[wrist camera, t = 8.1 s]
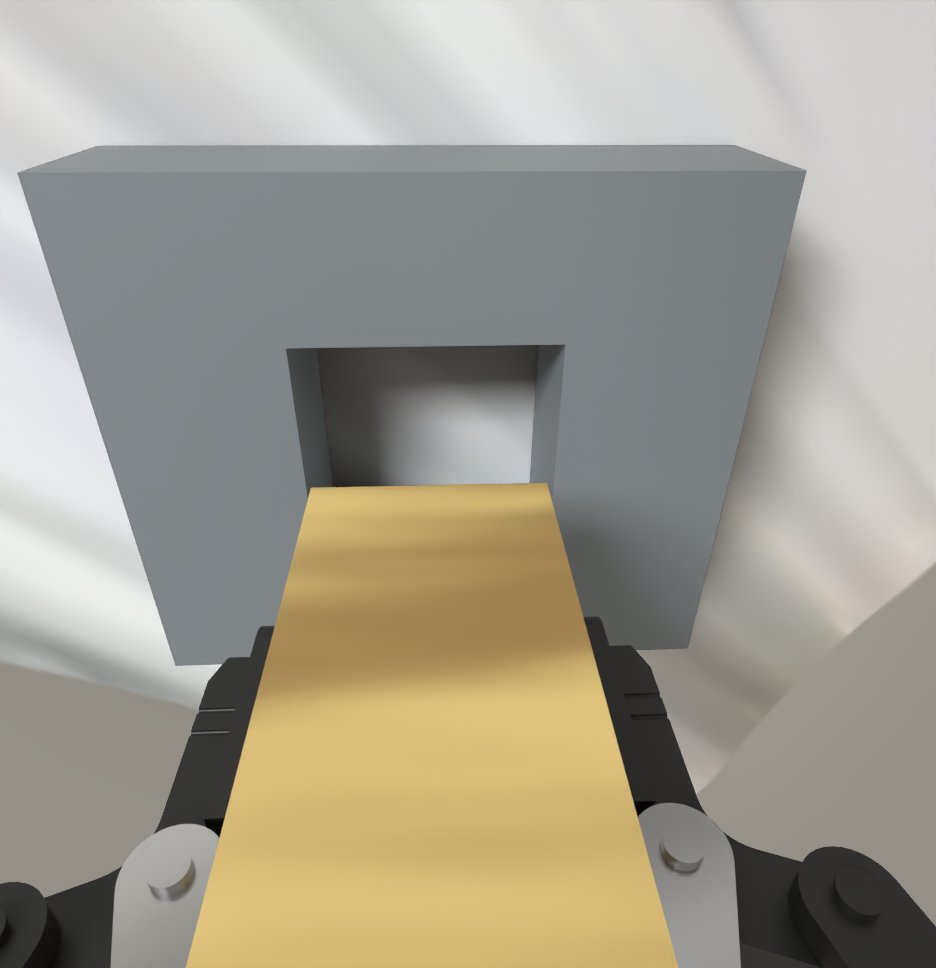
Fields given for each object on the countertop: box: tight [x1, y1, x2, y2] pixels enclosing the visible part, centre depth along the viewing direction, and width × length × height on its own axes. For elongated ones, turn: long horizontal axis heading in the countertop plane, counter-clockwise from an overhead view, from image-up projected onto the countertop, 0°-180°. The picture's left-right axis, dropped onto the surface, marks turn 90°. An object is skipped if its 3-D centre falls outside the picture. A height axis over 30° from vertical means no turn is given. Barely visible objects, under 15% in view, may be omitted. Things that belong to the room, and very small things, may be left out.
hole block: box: [18, 145, 806, 666], centre depth 20 cm, size 14×16×4 cm
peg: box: [186, 483, 678, 968], centre depth 10 cm, size 4×4×10 cm
